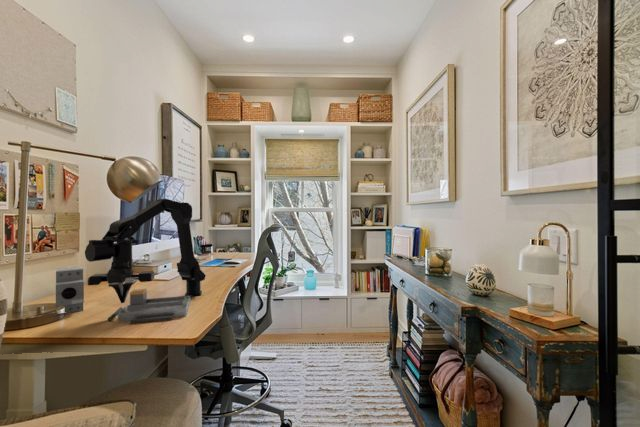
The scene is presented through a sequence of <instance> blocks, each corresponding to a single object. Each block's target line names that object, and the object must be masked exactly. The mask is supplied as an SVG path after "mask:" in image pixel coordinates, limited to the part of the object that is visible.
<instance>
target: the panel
mask: <svg viewBox="0 0 640 427" xmlns="http://www.w3.org/2000/svg"><path fill="white" fill-rule="evenodd" d="M190 306H191V296H185V295H181V296H170V297H169V296H168V297H155V298H147V302H146V303H145V304H135V305H130V301H129V302H128V303H126V305H125V306H124V307H122V308H123V309H122V310H121V311H120V312H119V313H118V315H117V316H118V317H117V318H118V319H117V320H118V323H126V322H130V320H133V319H144V318H155V317H165V316H172V318H178V317H187V315H188V312H189V309H190Z"/></svg>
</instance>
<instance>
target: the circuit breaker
mask: <svg viewBox="0 0 640 427" xmlns="http://www.w3.org/2000/svg"><path fill="white" fill-rule="evenodd" d="M84 285H85V281H84V268H83V266H73V267H60V268H56V269H55V308H56V307H59V306H65V312H66V313H65V314H70V313H77V312H81V311H82V312H83V311H84V302H85V299H84V298H85V297H84V296H85V286H84Z"/></svg>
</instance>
